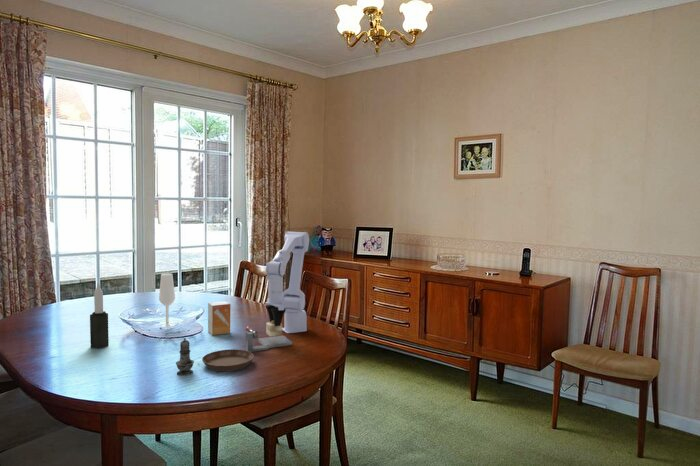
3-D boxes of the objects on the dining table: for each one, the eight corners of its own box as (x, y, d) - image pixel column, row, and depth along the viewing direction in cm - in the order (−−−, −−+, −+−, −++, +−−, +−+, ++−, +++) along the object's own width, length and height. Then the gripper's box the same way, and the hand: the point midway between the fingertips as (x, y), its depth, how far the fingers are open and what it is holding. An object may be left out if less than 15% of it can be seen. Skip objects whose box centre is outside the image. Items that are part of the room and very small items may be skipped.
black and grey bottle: (110, 345, 189) (108, 282, 187) (99, 349, 184) (98, 284, 182) (99, 343, 190) (98, 281, 188) (89, 347, 186) (87, 283, 183)
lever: (249, 331, 195) (249, 324, 195) (258, 339, 185) (258, 332, 185) (245, 332, 194) (245, 325, 194) (253, 339, 184) (253, 332, 184)
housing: (277, 331, 198) (277, 318, 198) (282, 334, 194) (281, 321, 194) (266, 333, 196) (266, 320, 196) (270, 336, 192) (270, 323, 191)
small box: (212, 335, 204) (212, 305, 203) (207, 332, 209) (207, 302, 208) (230, 333, 208) (230, 303, 207) (225, 329, 214) (225, 300, 213)
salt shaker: (178, 369, 165) (178, 335, 164) (196, 369, 165) (195, 335, 164) (173, 376, 159) (173, 340, 158) (191, 375, 159) (191, 340, 158)
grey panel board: (283, 338, 203) (283, 321, 202) (293, 346, 193) (293, 328, 192) (239, 343, 194) (239, 326, 193) (248, 352, 184) (248, 334, 183)
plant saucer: (199, 359, 175) (199, 351, 175) (248, 354, 182) (248, 346, 182) (205, 377, 159) (205, 368, 159) (258, 370, 166) (258, 361, 166)
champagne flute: (155, 328, 213) (155, 274, 211) (166, 324, 219) (166, 272, 217) (167, 330, 210) (167, 276, 208) (178, 326, 217) (178, 273, 215)
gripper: (260, 288, 198) (260, 320, 199) (271, 295, 186) (271, 329, 187) (276, 287, 202) (276, 318, 203) (289, 293, 189) (288, 327, 190)
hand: (275, 324), depth 195 cm, fingers closed on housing, 5 cm apart
